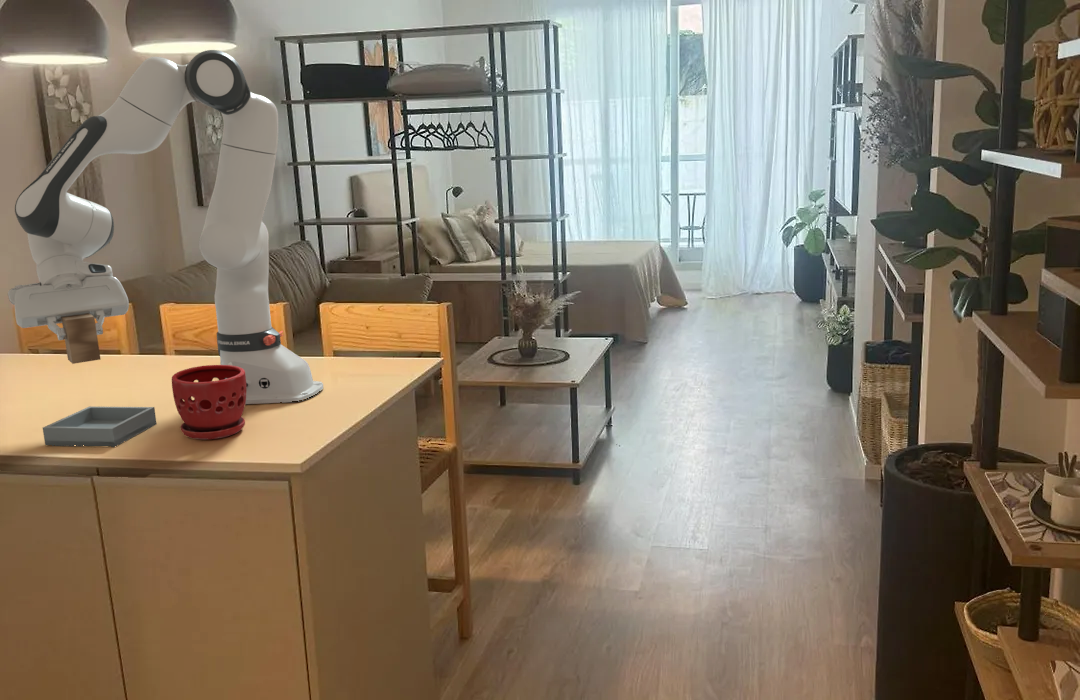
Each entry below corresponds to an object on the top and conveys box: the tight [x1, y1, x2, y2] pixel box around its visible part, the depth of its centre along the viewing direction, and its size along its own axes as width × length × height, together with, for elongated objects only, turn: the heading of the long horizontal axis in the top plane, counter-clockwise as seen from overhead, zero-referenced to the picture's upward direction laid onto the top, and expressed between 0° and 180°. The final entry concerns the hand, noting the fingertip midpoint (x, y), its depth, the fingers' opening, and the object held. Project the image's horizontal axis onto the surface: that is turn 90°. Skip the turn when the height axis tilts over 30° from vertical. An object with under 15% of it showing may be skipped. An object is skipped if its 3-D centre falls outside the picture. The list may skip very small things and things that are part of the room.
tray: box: [42, 405, 157, 448], centre depth 179 cm, size 14×14×4 cm
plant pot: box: [171, 364, 246, 441], centre depth 177 cm, size 13×13×12 cm
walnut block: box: [61, 313, 102, 365], centre depth 183 cm, size 5×5×8 cm
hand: (81, 335), depth 182 cm, fingers closed on walnut block, 5 cm apart
